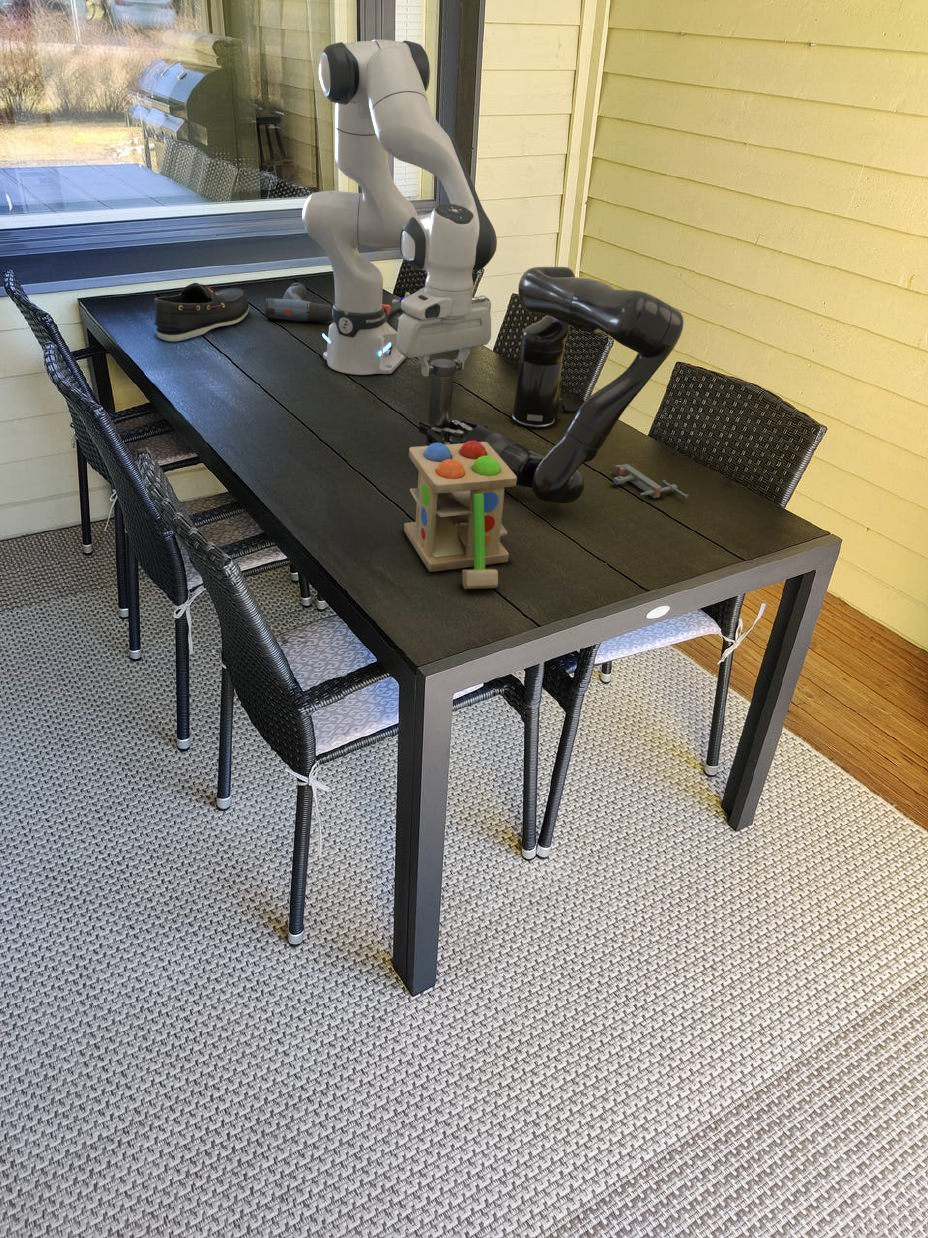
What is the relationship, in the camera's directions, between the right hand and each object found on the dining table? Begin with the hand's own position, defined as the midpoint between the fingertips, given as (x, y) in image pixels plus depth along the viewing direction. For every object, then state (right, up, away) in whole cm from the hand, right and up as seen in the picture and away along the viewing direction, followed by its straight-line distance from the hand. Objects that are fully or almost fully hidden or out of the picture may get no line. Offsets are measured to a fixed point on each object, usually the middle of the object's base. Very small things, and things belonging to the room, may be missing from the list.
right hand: (429, 423), depth 197 cm
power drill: (-36, +44, +70) cm, 90 cm away
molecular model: (-7, +41, +69) cm, 81 cm away
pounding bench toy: (+7, -29, -31) cm, 44 cm away
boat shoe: (-60, +37, +55) cm, 89 cm away
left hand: (+3, +8, -8) cm, 12 cm away
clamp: (+43, -14, -3) cm, 45 cm away
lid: (+3, +9, -9) cm, 13 cm away
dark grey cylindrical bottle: (+1, -6, +2) cm, 7 cm away
